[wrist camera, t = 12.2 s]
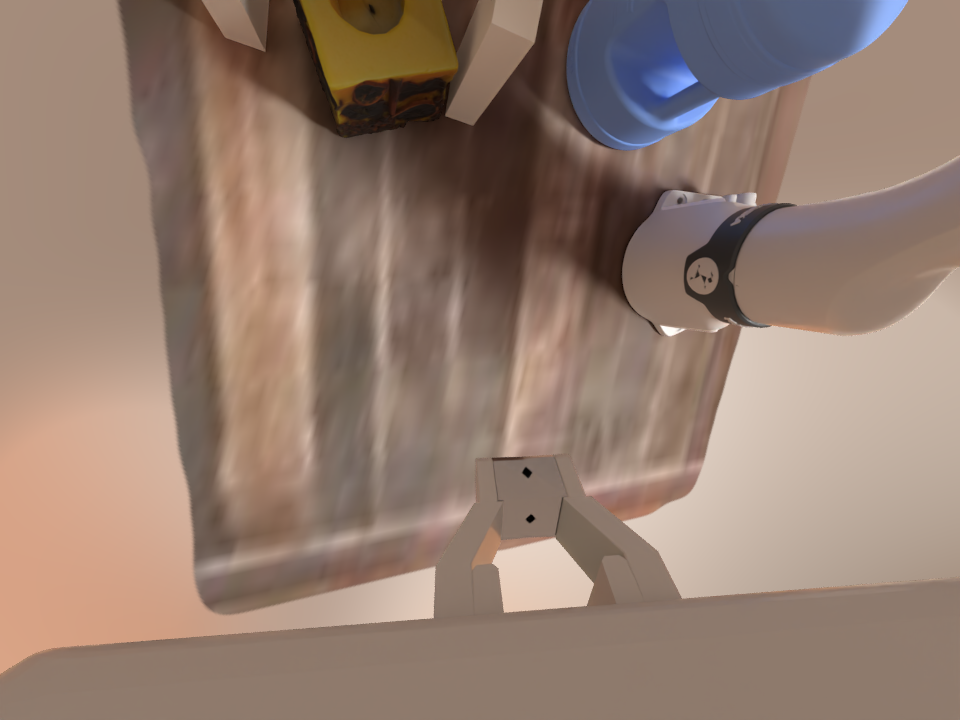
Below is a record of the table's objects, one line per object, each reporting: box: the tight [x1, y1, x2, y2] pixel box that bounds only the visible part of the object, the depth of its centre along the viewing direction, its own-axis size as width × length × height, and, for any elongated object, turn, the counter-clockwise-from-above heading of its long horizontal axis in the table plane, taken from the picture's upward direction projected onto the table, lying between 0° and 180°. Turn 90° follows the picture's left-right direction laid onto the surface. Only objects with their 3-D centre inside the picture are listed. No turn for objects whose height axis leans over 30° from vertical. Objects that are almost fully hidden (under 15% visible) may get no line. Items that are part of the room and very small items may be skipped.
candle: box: [293, 0, 458, 138], centre depth 29 cm, size 10×10×10 cm
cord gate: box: [202, 0, 543, 126], centre depth 26 cm, size 22×5×15 cm, turn 79°
